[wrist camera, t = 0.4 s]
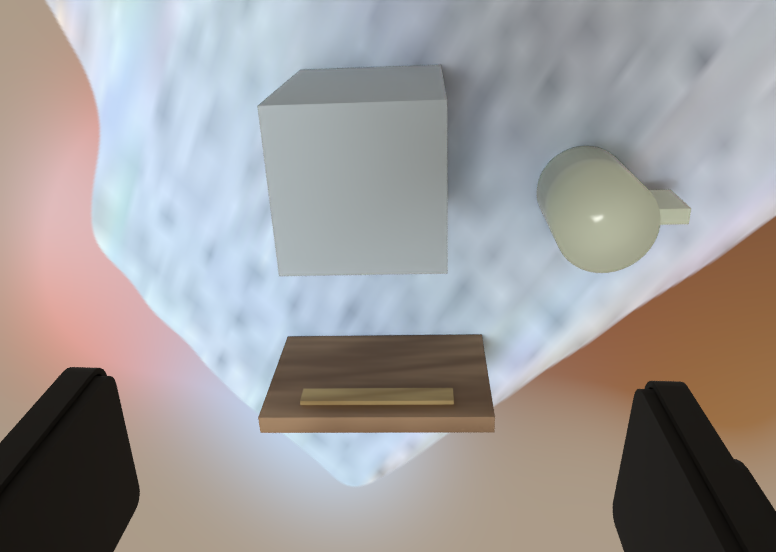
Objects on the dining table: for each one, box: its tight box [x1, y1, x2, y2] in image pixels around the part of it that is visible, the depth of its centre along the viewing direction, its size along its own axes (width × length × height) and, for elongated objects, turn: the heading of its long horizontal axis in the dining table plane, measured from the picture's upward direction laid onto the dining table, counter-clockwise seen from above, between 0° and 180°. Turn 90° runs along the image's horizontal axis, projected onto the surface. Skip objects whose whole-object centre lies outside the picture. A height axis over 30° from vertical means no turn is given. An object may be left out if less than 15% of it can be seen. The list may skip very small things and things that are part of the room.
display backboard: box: [258, 335, 495, 433], centre depth 45 cm, size 2×15×10 cm, turn 92°
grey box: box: [257, 64, 447, 276], centre depth 38 cm, size 9×9×12 cm
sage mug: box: [537, 146, 691, 273], centre depth 41 cm, size 6×8×7 cm
